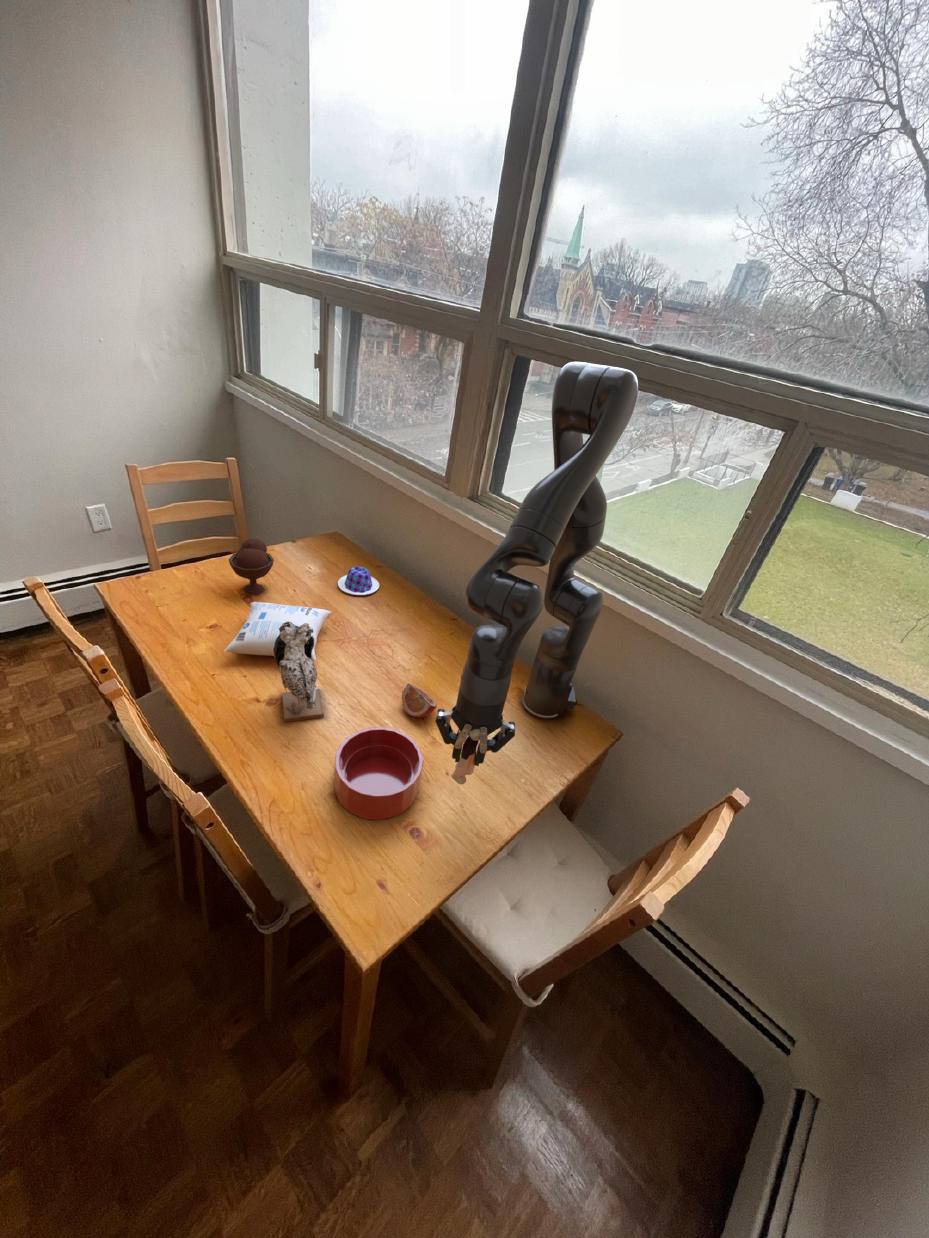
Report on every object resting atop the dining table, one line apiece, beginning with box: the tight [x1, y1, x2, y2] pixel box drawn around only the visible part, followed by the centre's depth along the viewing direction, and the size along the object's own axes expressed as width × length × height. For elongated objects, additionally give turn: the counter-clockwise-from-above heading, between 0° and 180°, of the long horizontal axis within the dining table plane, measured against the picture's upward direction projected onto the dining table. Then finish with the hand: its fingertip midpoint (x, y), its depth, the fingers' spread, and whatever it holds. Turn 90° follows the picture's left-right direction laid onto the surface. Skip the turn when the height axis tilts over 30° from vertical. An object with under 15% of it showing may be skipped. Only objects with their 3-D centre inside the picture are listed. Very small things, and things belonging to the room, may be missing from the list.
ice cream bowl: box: [228, 537, 275, 596], centre depth 136 cm, size 11×11×15 cm
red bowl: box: [334, 726, 424, 821], centre depth 92 cm, size 15×15×7 cm
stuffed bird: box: [273, 621, 325, 723], centre depth 103 cm, size 10×20×17 cm, turn 39°
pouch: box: [223, 601, 332, 661], centre depth 121 cm, size 8×19×20 cm
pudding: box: [337, 566, 380, 596], centre depth 148 cm, size 12×12×5 cm
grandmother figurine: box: [451, 729, 480, 785], centre depth 87 cm, size 8×4×13 cm, turn 171°
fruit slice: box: [401, 683, 438, 718], centre depth 110 cm, size 8×7×5 cm
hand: (467, 759), depth 88 cm, fingers closed on grandmother figurine, 3 cm apart
